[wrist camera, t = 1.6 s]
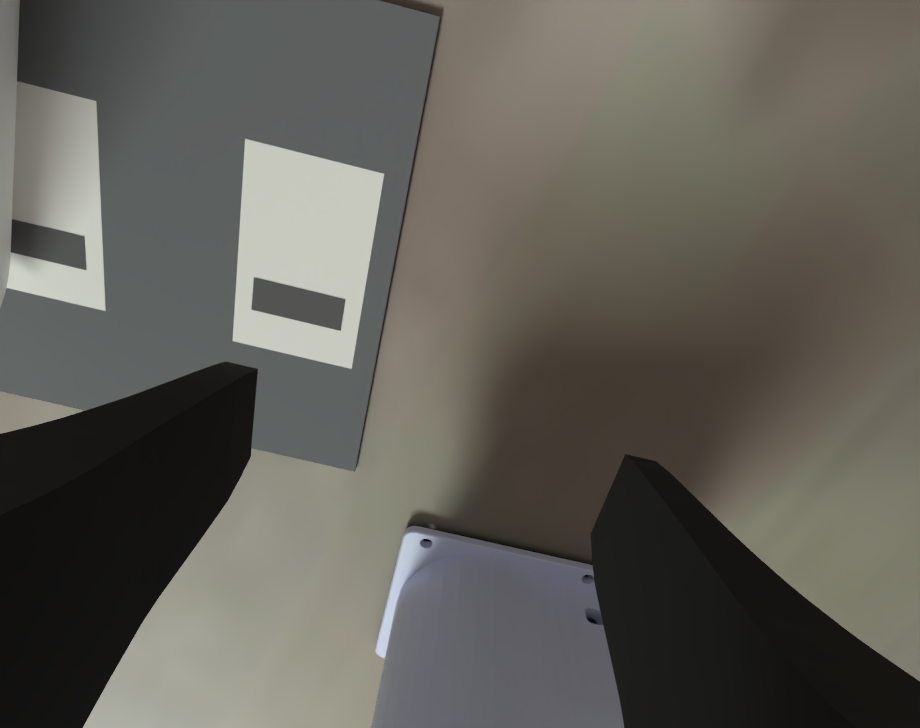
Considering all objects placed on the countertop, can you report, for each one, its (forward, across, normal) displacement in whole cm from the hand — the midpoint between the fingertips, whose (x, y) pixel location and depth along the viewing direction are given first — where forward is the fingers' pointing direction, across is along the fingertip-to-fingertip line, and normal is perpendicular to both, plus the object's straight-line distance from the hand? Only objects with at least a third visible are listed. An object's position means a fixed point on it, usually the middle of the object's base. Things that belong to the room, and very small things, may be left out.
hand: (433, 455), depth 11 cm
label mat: (+9, +11, 0) cm, 14 cm away
